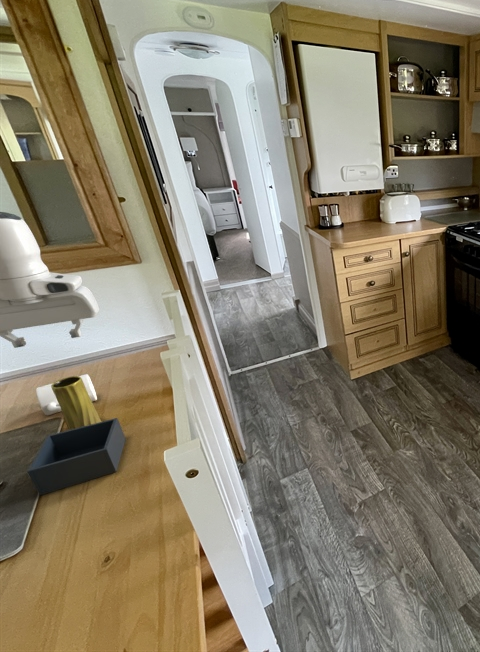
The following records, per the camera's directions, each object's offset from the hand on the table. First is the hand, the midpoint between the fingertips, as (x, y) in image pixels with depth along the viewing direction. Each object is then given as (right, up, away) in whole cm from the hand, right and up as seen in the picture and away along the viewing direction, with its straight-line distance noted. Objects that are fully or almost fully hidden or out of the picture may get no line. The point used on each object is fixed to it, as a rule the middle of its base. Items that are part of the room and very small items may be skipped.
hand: (49, 341), depth 88 cm
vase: (0, -24, +9) cm, 26 cm away
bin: (+11, -28, -2) cm, 30 cm away
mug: (-11, -21, +16) cm, 28 cm away
